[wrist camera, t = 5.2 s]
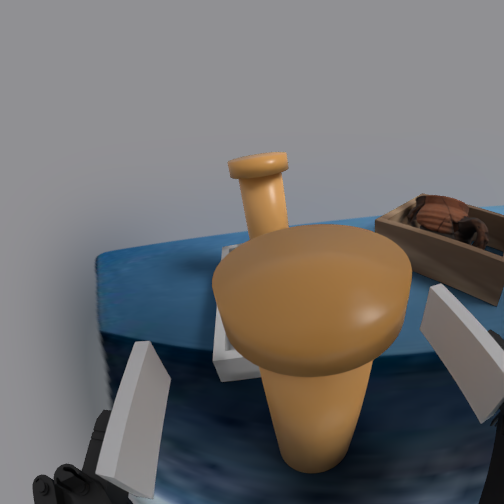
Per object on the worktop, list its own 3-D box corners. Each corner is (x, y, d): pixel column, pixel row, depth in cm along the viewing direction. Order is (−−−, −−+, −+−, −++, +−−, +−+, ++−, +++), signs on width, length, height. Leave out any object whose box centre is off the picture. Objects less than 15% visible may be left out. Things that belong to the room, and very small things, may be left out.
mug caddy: (421, 221, 36) (422, 193, 34) (512, 252, 23) (518, 220, 21) (374, 256, 30) (375, 219, 28) (496, 306, 17) (509, 264, 15)
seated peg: (279, 254, 32) (263, 152, 27) (310, 269, 28) (298, 152, 23) (240, 272, 30) (217, 162, 25) (269, 292, 26) (247, 163, 21)
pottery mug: (384, 258, 30) (395, 191, 29) (426, 269, 33) (435, 212, 32) (469, 276, 19) (478, 188, 18) (496, 284, 22) (505, 215, 21)
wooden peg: (318, 393, 16) (312, 214, 11) (379, 440, 11) (442, 254, 6) (249, 440, 13) (183, 267, 8) (306, 501, 9) (304, 381, 4)
